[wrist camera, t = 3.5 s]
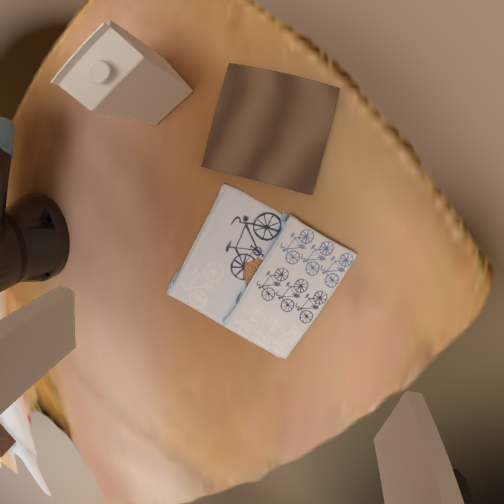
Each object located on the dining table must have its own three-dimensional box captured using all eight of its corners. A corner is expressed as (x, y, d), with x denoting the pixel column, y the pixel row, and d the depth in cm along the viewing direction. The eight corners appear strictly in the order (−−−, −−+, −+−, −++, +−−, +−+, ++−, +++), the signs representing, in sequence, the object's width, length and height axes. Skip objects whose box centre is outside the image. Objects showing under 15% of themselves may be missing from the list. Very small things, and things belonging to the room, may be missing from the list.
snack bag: (282, 356, 46) (282, 364, 44) (165, 288, 46) (160, 294, 44) (358, 252, 40) (361, 257, 38) (226, 172, 40) (222, 172, 38)
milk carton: (128, 93, 38) (38, 62, 20) (165, 59, 36) (88, 5, 18) (155, 126, 39) (65, 106, 21) (194, 91, 37) (122, 43, 19)
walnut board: (204, 166, 40) (201, 166, 38) (231, 66, 36) (229, 63, 34) (311, 194, 39) (311, 195, 37) (338, 91, 35) (339, 88, 34)
